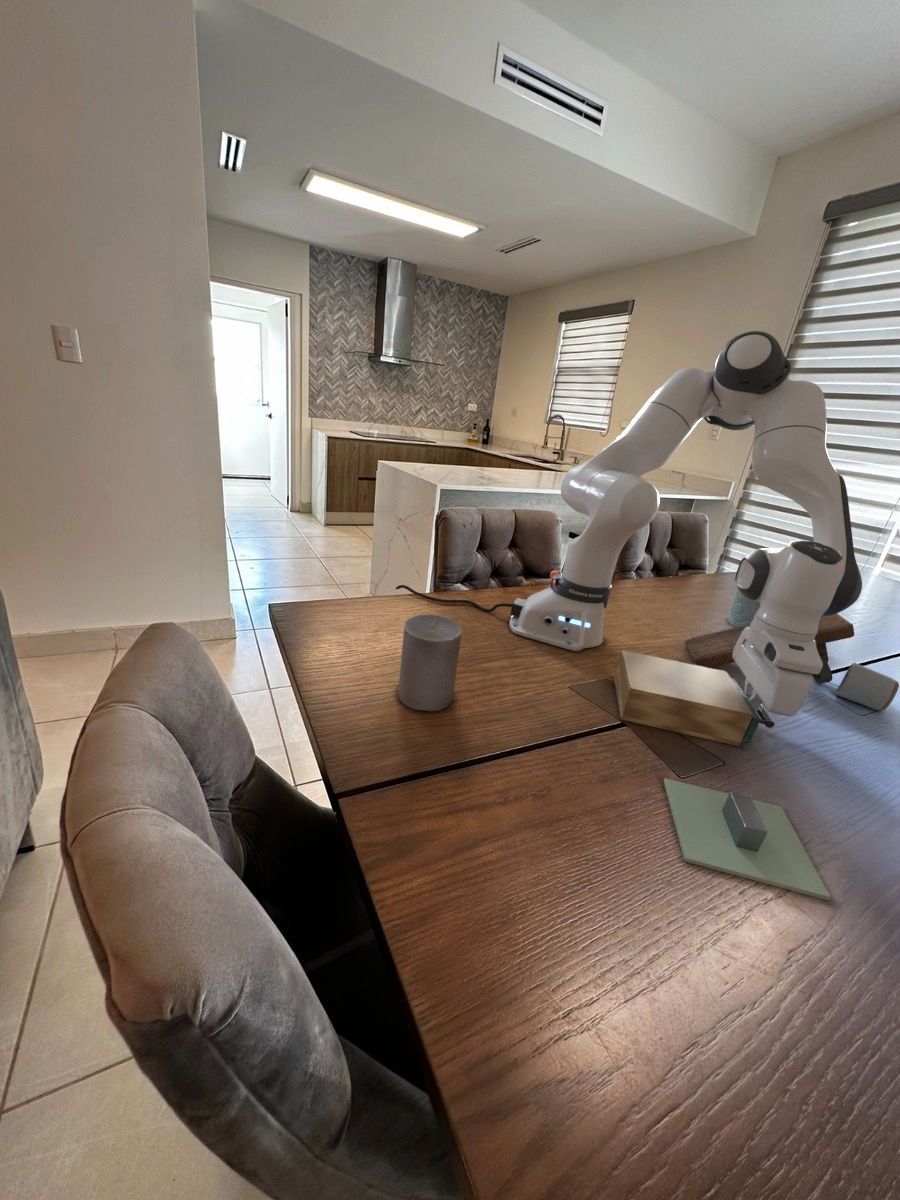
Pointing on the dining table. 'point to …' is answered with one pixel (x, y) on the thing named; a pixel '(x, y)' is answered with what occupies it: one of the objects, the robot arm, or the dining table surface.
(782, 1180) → the dining table surface
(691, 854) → the mat
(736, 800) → the slate gray brick
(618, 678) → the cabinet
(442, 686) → the pillar candle
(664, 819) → the dining table surface
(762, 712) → the drawer
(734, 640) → the small wooden bench
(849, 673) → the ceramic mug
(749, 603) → the teal plant pot
